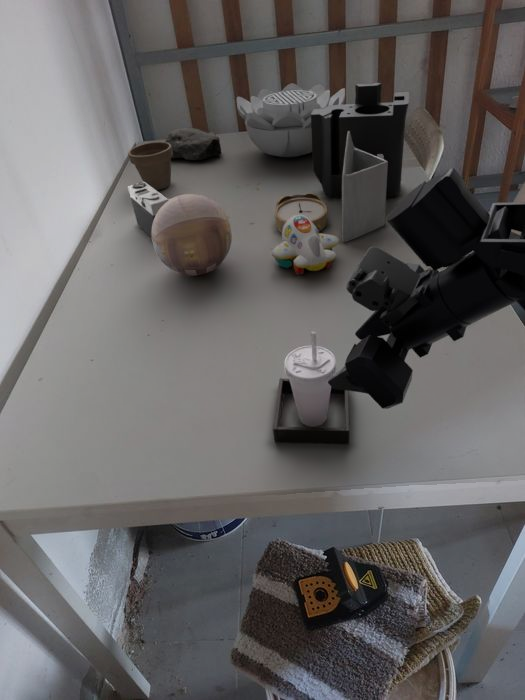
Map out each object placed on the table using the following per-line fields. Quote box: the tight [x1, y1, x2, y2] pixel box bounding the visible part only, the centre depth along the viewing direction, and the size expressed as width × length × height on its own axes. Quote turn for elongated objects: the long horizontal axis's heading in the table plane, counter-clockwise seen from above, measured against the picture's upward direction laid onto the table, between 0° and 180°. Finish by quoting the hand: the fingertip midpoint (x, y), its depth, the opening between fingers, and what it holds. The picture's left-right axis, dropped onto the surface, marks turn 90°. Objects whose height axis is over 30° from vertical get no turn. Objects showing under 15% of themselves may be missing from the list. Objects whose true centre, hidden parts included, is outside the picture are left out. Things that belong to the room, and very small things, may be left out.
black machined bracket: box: [311, 82, 410, 199], centre depth 118 cm, size 12×21×22 cm, turn 77°
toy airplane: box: [271, 215, 340, 275], centre depth 98 cm, size 13×9×15 cm
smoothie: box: [283, 330, 337, 427], centre depth 64 cm, size 6×6×14 cm
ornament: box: [151, 193, 233, 277], centre depth 98 cm, size 15×15×15 cm
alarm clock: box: [274, 192, 328, 233], centre depth 114 cm, size 11×5×15 cm
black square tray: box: [272, 378, 350, 445], centre depth 68 cm, size 9×9×2 cm
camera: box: [127, 181, 171, 239], centre depth 115 cm, size 14×8×10 cm, turn 32°
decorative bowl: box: [236, 83, 346, 158], centre depth 146 cm, size 30×30×15 cm
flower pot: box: [127, 141, 173, 191], centre depth 137 cm, size 12×11×10 cm
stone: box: [165, 127, 222, 161], centre depth 153 cm, size 18×9×10 cm
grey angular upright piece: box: [341, 131, 388, 243], centre depth 104 cm, size 16×8×19 cm, turn 166°
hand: (345, 359), depth 60 cm, fingers open, 9 cm apart
